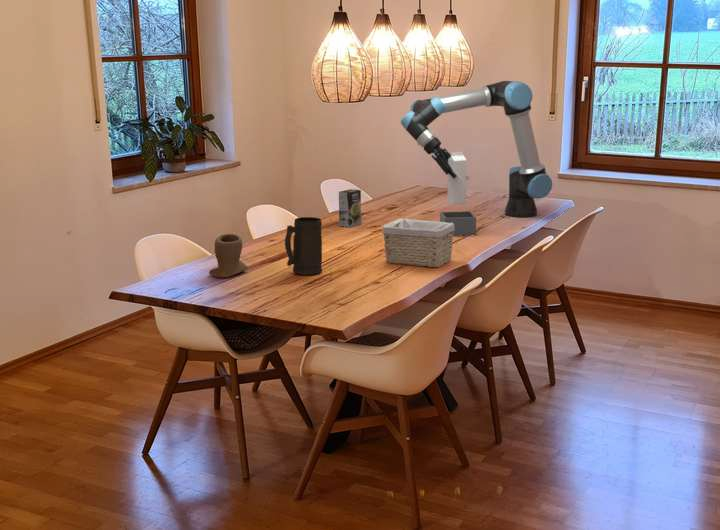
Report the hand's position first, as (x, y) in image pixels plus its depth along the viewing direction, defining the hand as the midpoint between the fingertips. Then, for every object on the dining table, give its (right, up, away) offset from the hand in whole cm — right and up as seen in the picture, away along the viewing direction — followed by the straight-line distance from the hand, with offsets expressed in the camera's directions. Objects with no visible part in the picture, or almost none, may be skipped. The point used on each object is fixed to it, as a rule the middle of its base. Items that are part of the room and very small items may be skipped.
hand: (464, 181), depth 366 cm
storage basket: (-22, -35, -39) cm, 57 cm away
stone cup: (-92, -40, -52) cm, 113 cm away
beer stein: (-65, -39, -52) cm, 92 cm away
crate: (-2, -22, +7) cm, 23 cm away
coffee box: (-49, -18, +27) cm, 59 cm away
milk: (-3, -9, +4) cm, 10 cm away
